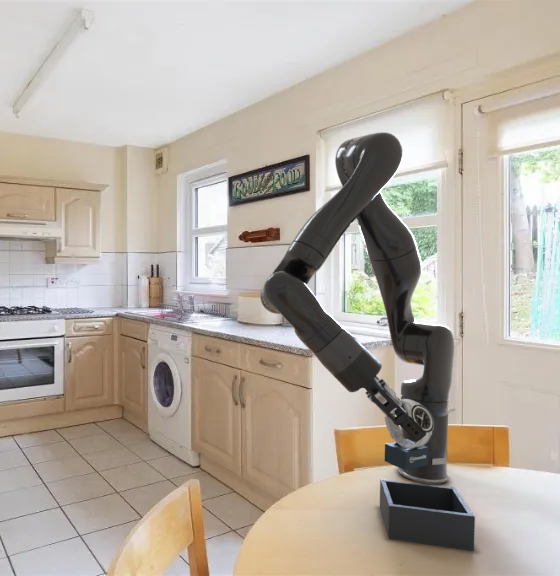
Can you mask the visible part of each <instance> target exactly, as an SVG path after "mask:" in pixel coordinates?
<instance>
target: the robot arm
mask: <svg viewBox="0 0 560 576" xmlns="http://www.w3.org/2000/svg"><path fill="white" fill-rule="evenodd" d="M402 146H403V145H402V144H401V142H400V140H399V139H398V137H396V136H395V135H393V134H392V133H389V132H385V131H384V132H383V131H381V132H374V133H369V134H366V135H365V134H364V135H360V136H358V137H353V138H350V139H346V140H345V141H343V142H341V144H340V145H339V146H338V148H337V150H336V153H335V159H334V160H335V161H334V164H335V169H336V174H337V176H338V179H339V181H340V184H341V188H340V190H338V191H337V192H336V193H335V194H334V195H333V196H332V197H331V198H330V199H329V200H327V202H325V203H324V204H323V205H322V206H321V207H319V208H318V209H317V210H316V211H315V212H314V213H313V214H312V215H311V216H310V217H309V218H308V219H307V220H306V222H305V223H303V225H302V226H301V228H300V229H299V231H298V232H297V234H296V235H295V237H294V238H293V240H292V242H291V243H290V245H289V246H288V248H287V250H286V251H285V254H284V255H283V257H282V259H281V260H280V261H279V263H278V264H277V266H276V267H275V268H274V270H273V271H272V272H271V274H270V275H269V277H267V279H266V280H265V282H264V283H263V284H262V286H261V288H260V293H259V299H260V303H261V305H262V306H263V308H264V309H265V310H266V311H268V312H269V313H271V314H275V315H281V316H282V317H283V318H284V319H285V320H286V322H288V323H289V324H290V325H291V326H292V328H293V329H294V333H295V335H296V337H297V338H298V339H299V341H300V342H302V344H304V345H305V347H306V348H307V349H308V350H309V351H310V352H311V353H312V354H313V355H314V356H315V357H316V358H317V360H318V361H319V363H320V364H321V365H322V366H323V367H324V368H325V370H327V371H328V372H329V373H330V374H331V375H332V376H333V377H334V378H335V379H336V381H338V382H339V383H340V385H342V387H344V389H345V390H346V391H347V392H349V393H356V392H359V391H360V390H361V389H365V395H366V397H367V398H368V400H369V401H370V402H371V403H372V404H374V405H376V407H377V408H378V409H379V410H380V411H381V412H382V414H383V415H384V416H385V415H387V416H388V417H389V418H390V419H391V420H392V421H393V423H394V424H395V425H397V426H399V428H400V430H401V432H402V437H403V439H408V440H411V441H413V442H416V443H417V442H418V441H419V440H421V439H422V438H423V437H424V436H426V432H425V431H424V430H423V429H422V428H421V427H420V426H419V425H418V424H417V423H416V422H415V421H414V420H413V419H412V418H411V417H410V415H409V413H408V412H406V410H405V408H404V405H405V404H403V403H402V402H401V401H400V400H402V399H410V400H414V401H416V402H418V403H419V404H420V405H423V406H424V407H425V408H427V410H428V411H429V412H430V414H431V416H432V418H433V421H434V428H433V430H432V435H431V437H430V439H429V440H428V442H427V443H426V444H424V446H427V447H428V465H426V466H422V467H418V468H414V469H410V470H406V471H405V470H403V469H401V468H399V467H398V472H399V474H400V475H401V476H403V477H404V478H406V479H409V480H411V481H414V482H416V483H421V484H428V485H438V484H444V483H446V482H447V481H448V451H449V449H448V448H449V447H448V446H449V442H448V441H449V402H450V401H449V398H450V390H451V387H452V382H453V381H452V380H453V368H454V367H453V366H454V357H455V339H454V334H453V332H452V330H451V329H450V328H449V327H448V326H446V325H443V324H439V323H437V324H436V323H427V322H417V320H416V319H415V316H414V313H413V309H412V298H413V295H414V292H415V290H416V288H417V286H418V283H419V281H420V278H421V275H422V271H423V263H422V260H421V256H420V252H419V249H418V245H417V242H416V240H415V237H414V234H413V233H412V231H411V230H410V229H409V228H408V226H407V225H406V224H405V223H404V222H403V220H402V219H401V218H400V217H399V216H398V215H397V214H396V213H395V212H394V211H393V210H392V209H391V206H389V205H388V203H387V202H386V200H385V198H384V196H383V194H382V190H383V189H384V188H385V186H386V185H388V183H389V182H391V180H392V179H393V178H394V177H395V175H396V173H397V172H398V171H399V169H400V167H401V165H402V162H403V156H404V155H403V147H402ZM354 221H356V222H357V225H358V227H359V231H360V233H361V236H362V239H363V242H364V244H365V248H366V252H367V256H368V259H369V263H370V266H371V269H372V272H373V274H374V277H375V280H376V282H377V286H378V290H379V292H380V296H381V299H382V303H383V306H384V310H385V316H386V320H387V324H388V325H387V326H388V331H389V335H390V340H391V344H392V348H393V351H394V353H395V355H396V357H397V358H398V359H399V360H400V361H401V362H404V363H407V364H412V365H417V366H422V367H423V372H422V375H421V376H420V377H417V378H410V379H406V380H403V381H402V383H401V385H400V398H399V397H398V396H397V393H396V391H394V389H393V388H391V386H390V385H389V384H388V382H387V381H386V380H385V379H384V378H379V377H378V376H377V375H379V373H380V372H381V370H382V366H383V365H382V362H381V361H379V359H378V358H377V357H375V355H373V353H372V352H370V351H369V349H368V348H367V347H365V346H364V344H362V342H360V341H359V340H358V339H357V337H355V335H353V334H352V333H350V332H349V331H348V330H346V329H345V327H343V326H342V325H341V324H340V323H339V322H338V321H337V320H336V319H335V318H334V316H332V314H330V313H329V312H327V310H325V308H324V307H323V306H322V304H321V302H320V301H319V300H318V298H317V297H316V295H315V294H314V292H313V291H312V290H311V289H310V288H309V287H308V284H309V282H310V281H311V279H312V278H313V276H314V275H316V274H317V273H318V271H319V270H320V269H321V268H322V267H323V265H324V264H325V262H327V259H328V258H329V256H331V253H332V252H333V250H334V249H335V247H336V245H338V243H339V241H340V240H341V238H342V237H343V235H344V234H345V233H346V232H347V230H348V229H349V228H350V226H351V225H352V224H353V223H354ZM394 411H395V416H394V415H393V412H394Z"/></svg>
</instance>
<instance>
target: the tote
mask: <svg viewBox="0 0 560 576" xmlns="http://www.w3.org/2000/svg"><path fill="white" fill-rule="evenodd" d="M379 510H380V514H381V516H382V521H383V524H384V528H385V532H386V535H387V538H388V540H396V541H403V542H408V543H417V544H423V545H430V546H438V547H444V548H451V549H457V550H465V551H470V552H474V551H475V527H476V524H475V523H476V516H475V514H474V513H473V512H472V510H471V508H470V507H469V506H468V503H466V501H465V499H464V498H463V496H462V495H461V494H460V492H459V490H458V489H457V488H456V487H454V486H445V485H438V484H428V483H420V482H409V481H401V480H400V481H399V480H392V479H384V478H383V479H382V478H381V479H379Z"/></svg>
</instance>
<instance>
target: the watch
mask: <svg viewBox="0 0 560 576" xmlns="http://www.w3.org/2000/svg"><path fill="white" fill-rule="evenodd" d="M400 401H401V402H402V403H403V404H405V405H404V408H405V410H406V412H408V413H409V415H410V417H411V418H412V419H413V420H414V421H415V422H416V423H417V424H418V425H419V426H420V427H421V428H422V429H423V430H424V431H425V432H426V436H424V437H423V438H422V439H421V440H419V441H418V442H417V443H416V442H413V441H411V440H408V439H403V437H402V432H401V430H400V425H399V426H397V425H395V424H394V423H393V421H392V420H391V419H390V418H389V417H388V416H387V415H385V414H384V422H385V425H386V429H387V432H388V433H389V436H390V438H391V439H393V440H394V441H391V442H386V443H384V462H385V463H388V464H390V465H392V466H394V467H397V468H398V469H399V468H401V469H403V470H405V471H406V470H410V469H414V468H418V467H422V466H426V465H428V447H427V446H424V444H426V443H427V442H428V440H429V439H430V437H431V435H432V430H433V428H434V421H433V418H432V416H431V414H430V412H429V411H428V410H427V408H425V407H424V406H423V405H420V404H419V403H418V402H416V401H414V400H410V399H402V400H401V399H400ZM393 415H394V416H395V417H396V415H395V411H394V412H393Z"/></svg>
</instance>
